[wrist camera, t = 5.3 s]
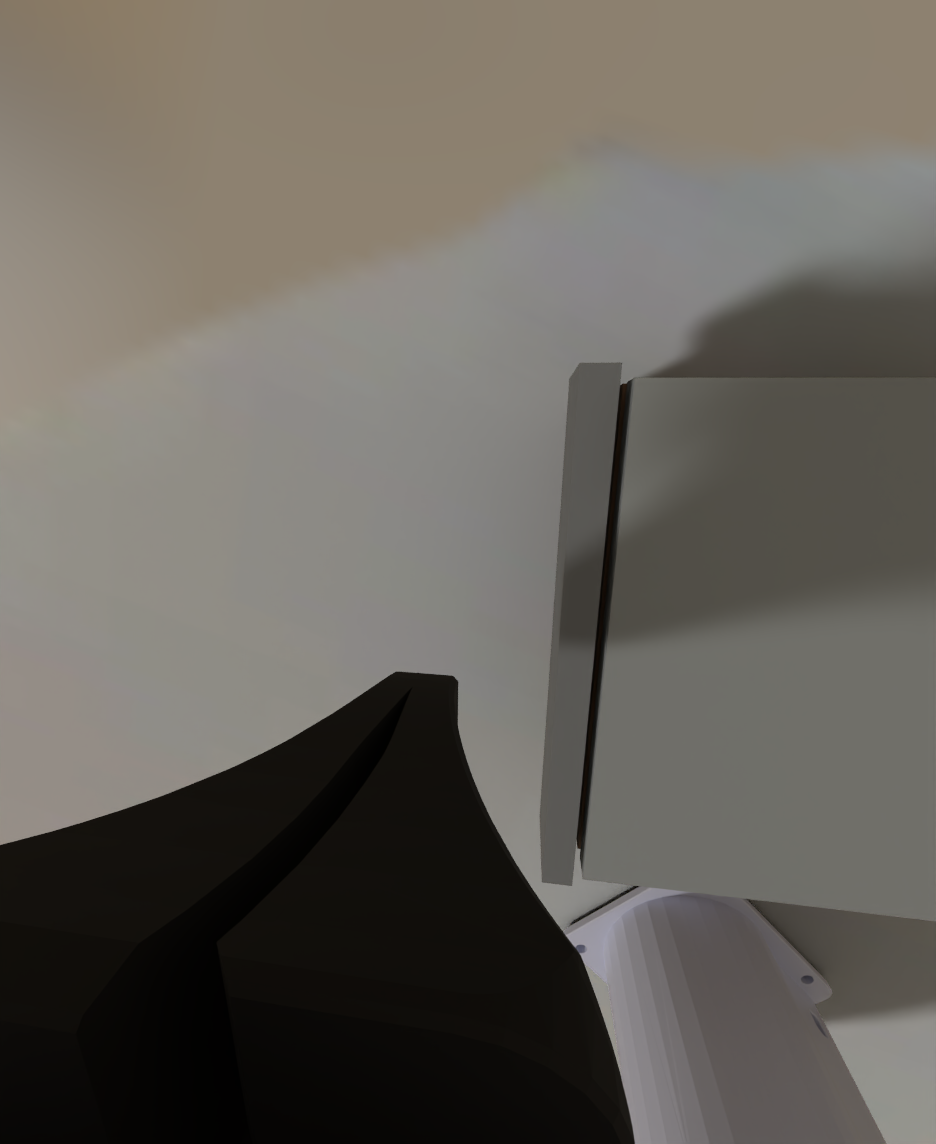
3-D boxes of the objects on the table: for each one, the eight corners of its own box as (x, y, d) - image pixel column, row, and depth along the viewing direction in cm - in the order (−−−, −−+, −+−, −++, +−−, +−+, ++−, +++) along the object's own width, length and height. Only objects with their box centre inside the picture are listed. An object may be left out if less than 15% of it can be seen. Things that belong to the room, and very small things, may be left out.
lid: (1127, 378, 11) (1300, 359, 9) (948, 859, 15) (1031, 941, 13) (569, 378, 13) (579, 362, 10) (539, 816, 17) (541, 882, 14)
